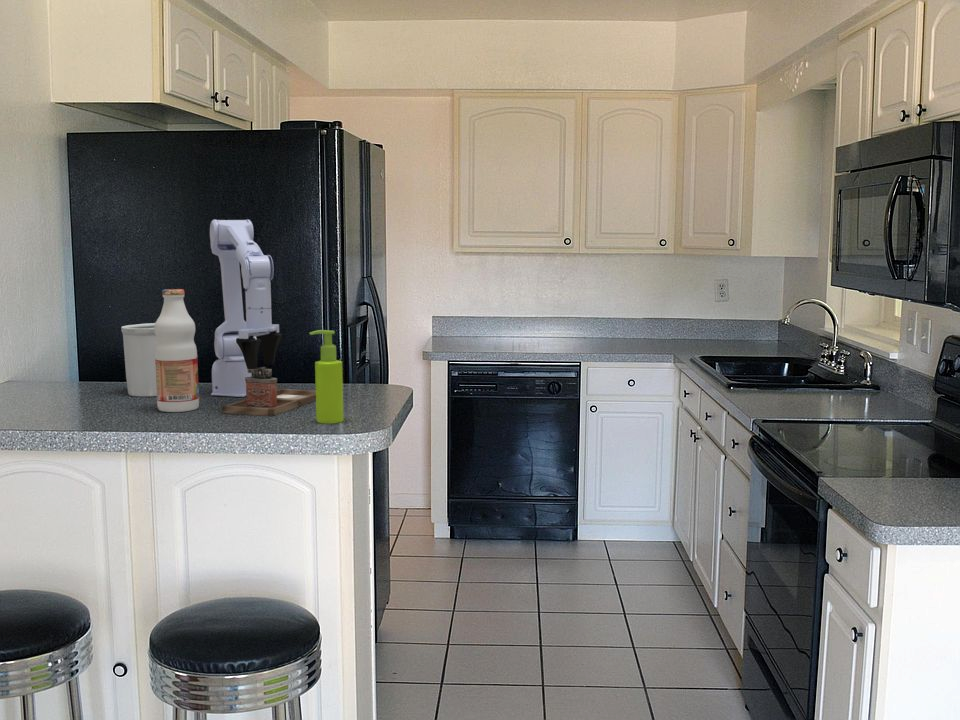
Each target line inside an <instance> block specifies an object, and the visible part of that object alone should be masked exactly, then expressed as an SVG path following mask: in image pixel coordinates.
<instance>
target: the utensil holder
mask: <svg viewBox="0 0 960 720" xmlns="http://www.w3.org/2000/svg"><path fill="white" fill-rule="evenodd" d="M155 323H156V322H153V323H152V322H151V323H149V322H148V323H147V322H146V323H139V324H128V325H123V326H121V327H120V328H121V329H120V330H121V333H122V339H123V340H122V341H123V351H124V352H123V354H124V365H125V366H124V367H125V379H126V387H127V394H128V395H129V396H133V397H147V398H148V397H157V387H156V365H155V347H156V344H157V338H156V335H155V330H154V328H155Z"/></svg>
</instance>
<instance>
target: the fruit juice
mask: <svg viewBox="0 0 960 720" xmlns="http://www.w3.org/2000/svg"><path fill="white" fill-rule="evenodd" d="M161 293H162V297H163V305H162V308H161V312H160V315H159V316H158V318H157V319H156V321H155V322H154V323H155V328H154V330H155V335H156V338H157V344H156V347H155V365H156V387H157V396H156V405H157V409H158V411H160V412H163V413H166V412H167V413H183V412H191V411H193V410H194V411H195V410H197V409H199V406H200V392H199V390H200V389H199V367H198V349H197V345H196V343H195V340H194V339H195V334H196V323H195V321H194V319H193V318H192V317H191V316H190V315H189V312H188V310H187V308H186V304H185V301H184V298H185V290H184V289H182V288H181V289H180V288H177V289H175V288H171V289H170V288H169V289H162V292H161Z"/></svg>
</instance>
